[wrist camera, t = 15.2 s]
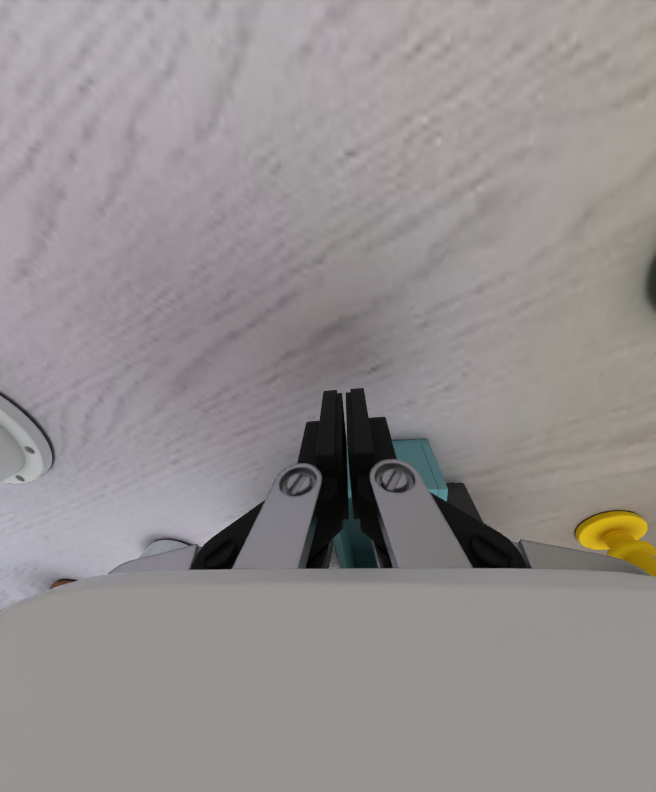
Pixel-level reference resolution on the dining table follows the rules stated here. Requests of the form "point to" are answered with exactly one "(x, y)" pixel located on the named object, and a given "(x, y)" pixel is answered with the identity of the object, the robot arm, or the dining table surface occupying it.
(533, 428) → the dining table surface
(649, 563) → the candle
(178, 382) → the dining table surface
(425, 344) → the dining table surface
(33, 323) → the dining table surface
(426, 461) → the storage box
